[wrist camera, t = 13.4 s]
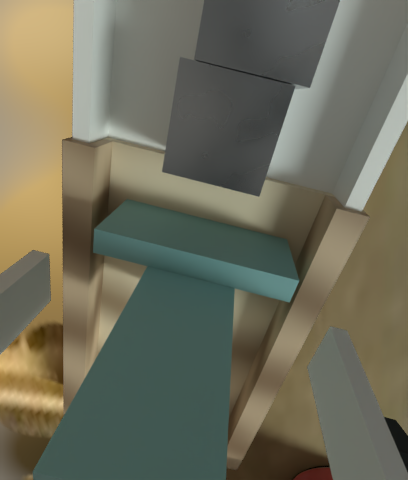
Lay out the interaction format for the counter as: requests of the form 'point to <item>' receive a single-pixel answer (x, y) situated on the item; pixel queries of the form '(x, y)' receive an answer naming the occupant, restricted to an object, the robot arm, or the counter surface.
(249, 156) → the block
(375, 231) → the counter surface
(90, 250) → the slot board
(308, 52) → the block
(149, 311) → the rake tool
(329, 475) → the flower pot
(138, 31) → the tray
